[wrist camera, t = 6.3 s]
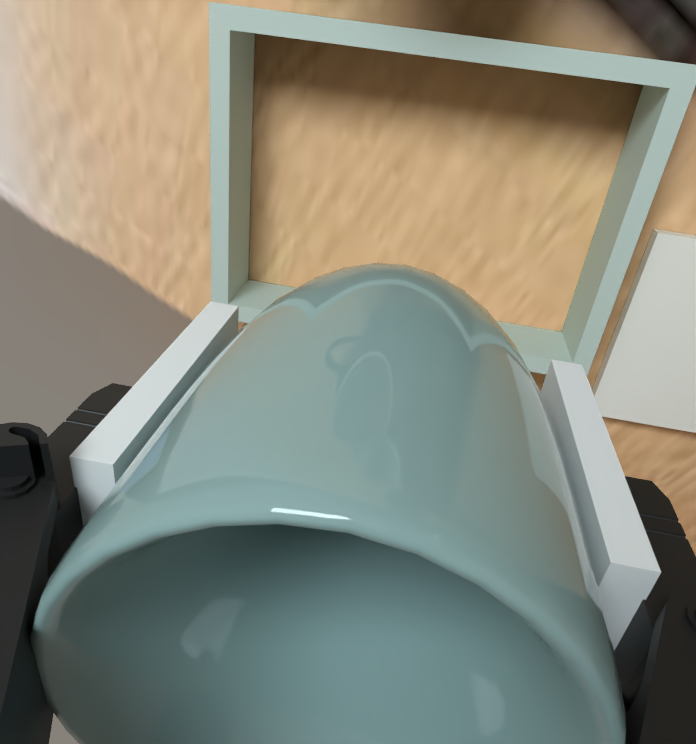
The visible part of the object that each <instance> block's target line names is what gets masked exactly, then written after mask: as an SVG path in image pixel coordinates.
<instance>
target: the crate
mask: <svg viewBox="0 0 696 744" xmlns="http://www.w3.org/2000/svg"><path fill="white" fill-rule="evenodd" d="M255 33H256V34H264V35H271V36H279V37H286V38H294V39H302V40H309V41H317V42H324V43H332V44H339V45H347V46H354V47H362V48H370V49H377V50H385V51H392V52H400V53H407V54H415V55H422V56H430V57H438V58H445V59H453V60H460V61H468V62H475V63H483V64H490V65H498V66H506V67H513V68H521V69H528V70H536V71H543V72H551V73H558V74H566V75H573V76H581V77H589V78H596V79H604V80H611V81H619V82H626V83H634V84H641V85H643V88H642V91H641V94H640V97H639V100H638V103H637V106H636V109H635V112H634V115H633V118H632V121H631V124H630V127H629V131H628V134H627V137H626V140H625V143H624V146H623V149H622V152H621V155H620V158H619V161H618V164H617V167H616V170H615V173H614V176H613V179H612V182H611V185H610V188H609V191H608V194H607V197H606V200H605V203H604V206H603V209H602V212H601V215H600V218H599V221H598V224H597V227H596V230H595V233H594V236H593V239H592V242H591V245H590V248H589V251H588V254H587V257H586V260H585V263H584V266H583V269H582V272H581V275H580V278H579V281H578V284H577V287H576V290H575V293H574V296H573V299H572V302H571V305H570V308H569V311H568V314H567V317H566V320H565V323H564V326H563V329H562V332H559V331H553V330H547V329H541V328H535V327H529V326H523V325H517V324H511V323H505V322H499V321H497V323H498V324H499V325H500V326H501V328H502V329H503V330H504V331H505V332H506V334H507V335H508V336H509V338H510V339H511V340H512V341H513V343H514V344H515V346H516V347H517V349H518V351H519V353H520V355H521V357H522V358H523V360H524V362H525V364H526V366H527V368H528V369H529V371H530V372H535V373H541V374H547V371H548V368H549V365H550V362H551V360H557V361H563V362H569V363H575V364H581V365H582V366H583V368H584V371H585V373H586V376H587V375H588V372H589V370H590V367H591V364H592V362H593V359H594V356H595V354H596V351H597V348H598V346H599V343H600V340H601V338H602V335H603V332H604V330H605V327H606V324H607V321H608V319H609V316H610V313H611V311H612V308H613V305H614V303H615V300H616V297H617V295H618V292H619V289H620V287H621V284H622V281H623V279H624V276H625V273H626V270H627V268H628V265H629V262H630V260H631V257H632V254H633V252H634V249H635V246H636V244H637V241H638V238H639V236H640V233H641V230H642V228H643V225H644V222H645V220H646V217H647V214H648V211H649V209H650V206H651V203H652V201H653V198H654V195H655V193H656V190H657V187H658V185H659V182H660V179H661V177H662V174H663V171H664V169H665V166H666V163H667V160H668V158H669V155H670V152H671V150H672V147H673V144H674V142H675V139H676V136H677V134H678V131H679V128H680V126H681V123H682V120H683V118H684V115H685V112H686V110H687V107H688V104H689V101H690V99H691V96H692V93H693V91H694V88H695V85H696V65H693V64H685V63H677V62H669V61H662V60H654V59H646V58H638V57H631V56H623V55H615V54H607V53H599V52H592V51H584V50H576V49H568V48H561V47H553V46H545V45H537V44H530V43H522V42H514V41H506V40H499V39H491V38H483V37H475V36H468V35H460V34H452V33H444V32H437V31H429V30H421V29H413V28H406V27H398V26H390V25H382V24H375V23H367V22H359V21H351V20H344V19H336V18H328V17H320V16H313V15H305V14H297V13H289V12H282V11H274V10H266V9H258V8H251V7H243V6H235V5H227V4H220V3H212V2H209V65H210V183H211V301H212V302H217V303H223V304H229V305H235V306H239V319H238V321H239V322H244V323H249V322H251V321H252V320H253V319H254V318H255V317H256V316H258V315H259V314H260V313H261V312H262V311H264V310H265V309H266V308H267V307H268V306H270V305H271V304H272V303H273V302H275V301H276V300H277V299H278V298H280V297H282V296H284V295H285V294H287V293H289V292H291V291H292V290H294V289H296V288H294V287H288V286H282V285H276V284H270V283H264V282H258V281H252V280H248V274H249V236H250V197H251V158H252V119H253V81H254V42H255Z"/></svg>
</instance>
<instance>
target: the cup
mask: <svg viewBox="0 0 696 744" xmlns="http://www.w3.org/2000/svg"><path fill="white" fill-rule="evenodd" d="M30 638H31V646H32V649H33V653H34V656H35V659H36V663H37V666H38V670H39V674H40V678H41V682H42V686H43V690H44V694H45V697H46V701H47V704H48V705H49V707H50V708H51V709H52V711H53V712H54V714H55V715H56V716H57V718H58V719H59V720H60V722H61V723H62V725H63V726H64V728H65V729H66V730H67V731H68V732H69V733H70V734H71V736H73V738H74V739H75V740H77V742H78V743H79V744H626V718H625V706H624V700H623V693H622V687H621V681H620V676H619V672H618V667H617V662H616V658H615V653H614V648H613V644H612V640H611V636H610V632H609V628H608V624H607V619H606V615H605V611H604V607H603V603H602V599H601V595H600V592H599V588H598V584H597V580H596V576H595V572H594V568H593V564H592V560H591V556H590V553H589V549H588V545H587V541H586V537H585V533H584V530H583V526H582V522H581V519H580V515H579V511H578V507H577V504H576V500H575V497H574V493H573V490H572V487H571V483H570V480H569V476H568V473H567V470H566V466H565V463H564V459H563V456H562V453H561V449H560V446H559V443H558V439H557V436H556V433H555V430H554V427H553V424H552V421H551V418H550V415H549V412H548V410H547V407H546V405H545V402H544V400H543V398H542V395H541V393H540V390H539V388H538V386H537V384H536V383H535V381H534V379H533V377H532V375H531V373H530V371H529V369H528V368H527V366H526V364H525V362H524V360H523V358H522V357H521V355H520V353H519V351H518V349H517V347H516V346H515V344H514V343H513V341H512V340H511V339H510V338H509V336H508V335H507V334H506V332H505V331H504V330H503V329H502V328H501V326H500V325H499V324H498V323H497V321H496V320H495V319H494V318H493V317H492V315H491V314H490V313H489V312H488V310H486V309H485V308H484V307H483V306H482V305H481V304H479V303H478V302H477V301H476V300H475V299H473V298H472V297H471V296H470V295H469V294H468V293H466V292H465V291H464V290H463V289H461V288H459V287H457V286H455V285H454V284H452V283H450V282H448V281H446V280H445V279H443V278H441V277H439V276H438V275H436V274H434V273H431V272H428V271H425V270H421V269H418V268H415V267H412V266H408V265H401V264H387V263H373V264H366V265H359V266H352V267H345V268H341V269H339V270H336V271H333V272H330V273H327V274H324V275H321V276H318V277H315V278H314V279H312V280H310V281H308V282H307V283H305V284H303V285H301V286H299V287H298V288H296V289H294V290H292V291H291V292H289V293H287V294H285V295H284V296H282V297H280V298H278V299H277V300H276V301H275V302H273V303H272V304H271V305H270V306H268V307H267V308H266V309H265V310H264V311H262V312H261V313H260V314H259V315H258V316H256V317H255V318H254V319H253V320H252V321H251V322H249V323H248V324H247V325H246V326H245V327H243V328H242V329H241V330H240V331H239V332H238V333H237V334H236V335H235V336H234V337H233V338H232V339H231V340H230V341H229V342H228V343H227V344H226V345H225V346H224V347H223V348H222V349H221V350H220V352H219V353H218V354H217V355H216V356H215V357H214V358H213V359H212V361H211V362H210V363H209V364H208V365H207V366H206V368H205V369H204V370H203V371H202V372H201V374H200V375H199V376H198V377H197V379H196V380H195V381H194V382H193V383H192V385H191V386H190V387H189V388H188V390H187V391H186V392H185V394H184V395H183V396H182V397H181V399H180V400H179V401H178V403H177V404H176V405H175V406H174V408H173V409H172V410H171V412H170V413H169V414H168V415H167V417H166V418H165V419H164V421H163V422H162V423H161V424H160V426H159V427H158V428H157V430H156V431H155V432H154V434H153V435H152V436H151V437H150V439H149V440H148V441H147V443H146V444H145V445H144V447H143V448H142V449H141V450H140V452H139V453H138V454H137V456H136V457H135V458H134V460H133V461H132V462H131V464H130V465H129V466H128V468H127V469H126V470H125V472H124V473H123V474H122V476H121V477H120V478H119V480H118V481H117V482H116V484H115V485H114V486H113V488H112V489H111V490H110V491H109V493H108V494H107V495H106V497H105V498H104V499H103V501H102V502H101V504H100V505H99V506H98V508H97V509H96V510H95V512H94V513H93V514H92V516H91V517H90V518H89V520H88V521H87V523H86V524H85V525H84V527H83V528H82V529H81V531H80V532H79V534H78V535H77V537H76V538H75V539H74V541H73V542H72V544H71V545H70V547H69V548H68V550H67V551H66V552H65V554H64V555H63V557H62V559H61V560H60V562H59V563H58V565H57V567H56V568H55V570H54V572H53V573H52V575H51V576H50V578H49V580H48V582H47V585H46V587H45V589H44V591H43V594H42V596H41V599H40V601H39V604H38V607H37V610H36V613H35V616H34V619H33V622H32V625H31V635H30Z"/></svg>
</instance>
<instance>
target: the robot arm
mask: <svg viewBox="0 0 696 744" xmlns="http://www.w3.org/2000/svg"><path fill="white" fill-rule="evenodd" d="M238 319H239V306H235V305H229V304H223V303H217V302H211V301H210V303H209V304H208V305H207V306H206V307H205V308H204V309H203V310H202V311H201V312H200V314H199V315H198V316H197V317H196V318H195V319H194V320H193V321H192V322H191V324H190V325H189V326H188V327H187V328H186V329H185V330H184V331H183V332H182V333H181V334H180V335H179V337H178V338H177V339H176V340H175V341H174V342H173V343H172V344H171V345H170V346H169V348H168V349H167V350H166V351H165V352H164V353H163V354H162V355H161V356H160V357H159V359H158V360H157V361H156V362H155V363H154V364H153V365H152V366H151V367H150V368H149V370H148V371H147V372H146V373H145V374H144V375H143V376H142V377H141V378H140V380H138V382H137V383H136V384H135V385H134V386H133V387H130V386H125V385H119V384H114V383H113V384H110V385H108V386H107V387H104V388H102V389H100V390H99V391H96V392H95V393H92V394H91V395H90V396H89V397H88V398H87V399H86V400H85V401H84V402H83V403H82V404H81V405H80V406H79V407H78V410H77V411H76V410H75V411H74V412H73V413H72V414H71V415H70V416H69V417H68V418H67V419H66V422H63V423H62V424H61V425H60V426H59V427H58V428H57V429H56V430H55V431H54V432H53V433H52V434H51V435H50V436H49V437H48V438H47V434H46V433H45V432H44V431H43V430H42V429H41V428H40V427H37V426H34V425H31V424H28V423H6V424H0V744H49V738H50V732H51V725H52V719H53V713H54V712H53V711H52V709H51V708H50V707H49V705H48V704H47V701H46V697H45V694H44V690H43V686H42V682H41V678H40V674H39V670H38V666H37V663H36V659H35V656H34V653H33V649H32V646H31V638H30V635H31V625H32V622H33V619H34V616H35V613H36V610H37V607H38V604H39V601H40V599H41V596H42V594H43V591H44V589H45V587H46V585H47V582H48V580H49V578H50V576H51V575H52V573H53V572H54V570H55V568H56V567H57V565H58V563H59V562H60V560H61V559H62V557H63V555H64V554H65V552H66V551H67V550H68V548H69V547H70V545H71V544H72V542H73V541H74V539H75V538H76V537H77V535H78V534H79V532H80V531H81V529H82V528H83V527H84V525H85V524H86V523H87V521H88V520H89V518H90V517H91V516H92V514H93V513H94V512H95V510H96V509H97V508H98V506H99V505H100V504H101V502H102V501H103V499H104V498H105V497H106V495H107V494H108V493H109V491H110V490H111V489H112V488H113V486H114V485H115V484H116V482H117V481H118V480H119V478H120V477H121V476H122V474H123V473H124V472H125V470H126V469H127V468H128V466H129V465H130V464H131V462H132V461H133V460H134V458H135V457H136V456H137V454H138V453H139V452H140V450H141V449H142V448H143V447H144V445H145V444H146V443H147V441H148V440H149V439H150V437H151V436H152V435H153V434H154V432H155V431H156V430H157V428H158V427H159V426H160V424H161V423H162V422H163V421H164V419H165V418H166V417H167V415H168V414H169V413H170V412H171V410H172V409H173V408H174V406H175V405H176V404H177V403H178V401H179V400H180V399H181V397H182V396H183V395H184V394H185V392H186V391H187V390H188V388H189V387H190V386H191V385H192V383H193V382H194V381H195V380H196V379H197V377H198V376H199V375H200V374H201V372H202V371H203V370H204V369H205V368H206V366H207V365H208V364H209V363H210V362H211V361H212V359H213V358H214V357H215V356H216V355H217V354H218V353H219V352H220V350H221V349H222V348H223V347H224V346H225V345H226V344H227V343H228V342H229V341H230V340H231V339H232V338H233V337H234V336H235V335H236V334H237V333H238ZM540 393H541V395H542V398H543V400H544V402H545V405H546V407H547V410H548V412H549V415H550V418H551V421H552V424H553V427H554V430H555V433H556V436H557V439H558V443H559V446H560V449H561V453H562V456H563V459H564V463H565V466H566V470H567V473H568V476H569V480H570V483H571V487H572V490H573V493H574V497H575V500H576V504H577V507H578V511H579V515H580V519H581V522H582V526H583V530H584V533H585V537H586V541H587V545H588V549H589V553H590V556H591V560H592V564H593V568H594V572H595V576H596V580H597V584H598V588H599V592H600V595H601V599H602V603H603V607H604V611H605V615H606V619H607V624H608V628H609V632H610V636H611V640H612V644H613V648H614V653H615V658H616V662H617V667H618V672H619V676H620V681H621V687H622V693H623V700H624V706H625V718H626V744H696V557H695V555H694V552H693V550H692V548H691V546H690V544H689V541H688V540H687V539H685V536H686V535H685V533H684V530H683V528H682V526H681V524H680V523H678V517H677V515H676V513H675V511H674V509H673V506H672V504H671V502H670V500H669V499H668V498H667V497H666V496H665V495H664V494H663V493H662V492H661V490H660V489H659V488H658V487H657V486H656V485H655V484H654V483H653V482H652V481H648V480H643V479H637V478H632V477H626V476H624V473H623V471H622V468H621V465H620V463H619V460H618V458H617V455H616V452H615V450H614V447H613V444H612V442H611V439H610V437H609V434H608V431H607V429H606V426H605V423H604V421H603V418H602V416H601V413H600V410H599V408H598V405H597V402H596V400H595V397H594V394H593V392H592V389H591V387H590V384H589V381H588V379H587V376H586V373H585V371H584V368H583V366H582V365H581V364H575V363H569V362H563V361H557V360H551V362H550V365H549V368H548V371H547V374H546V377H545V380H544V383H543V386H542V389H541V392H540Z"/></svg>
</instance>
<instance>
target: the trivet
mask: <svg viewBox="0 0 696 744" xmlns="http://www.w3.org/2000/svg"><path fill="white" fill-rule="evenodd" d="M592 392H593V394H594V397H595V400H596V402H597V405H598V408H599V410H600V413H601V416H603V417H608V418H614V419H620V420H625V421H631V422H637V423H642V424H648V425H654V426H659V427H665V428H671V429H676V430H682V431H688V432H693V433H696V235H691V234H685V233H678V232H671V231H665V230H658V229H653V232H652V234H651V237H650V239H649V242H648V245H647V247H646V250H645V253H644V255H643V258H642V260H641V263H640V266H639V268H638V271H637V273H636V276H635V279H634V281H633V284H632V286H631V289H630V292H629V294H628V297H627V300H626V302H625V305H624V307H623V310H622V313H621V315H620V318H619V320H618V323H617V326H616V328H615V331H614V333H613V336H612V339H611V341H610V344H609V347H608V349H607V352H606V354H605V357H604V360H603V362H602V365H601V367H600V370H599V373H598V375H597V378H596V381H595V383H594V386H593V388H592Z"/></svg>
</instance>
